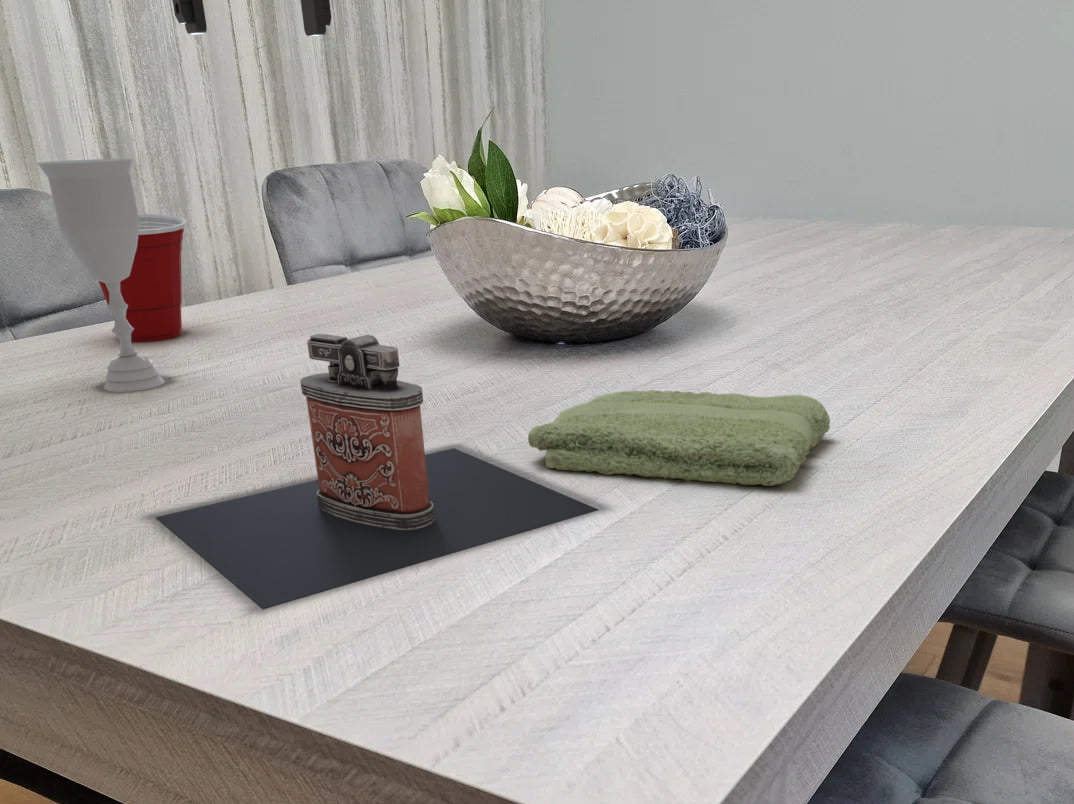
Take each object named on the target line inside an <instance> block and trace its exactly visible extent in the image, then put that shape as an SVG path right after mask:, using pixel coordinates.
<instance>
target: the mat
mask: <svg viewBox="0 0 1074 804" xmlns="http://www.w3.org/2000/svg"><path fill="white" fill-rule="evenodd" d="M425 461H426V471H427V481H428V492H429V501H430V502H432V503H433V508H434V519H435V520H434V521H433V523H431V524H430V525H428V526H425V527H422V528H418V529H413V530H398V529H391V528H384V527H377V526H372V525H367V524H363V523H358V522H353V521H350V520H347V519H344V518H341V517H337V516H335V515H332V514H330V513H328V512H325V511H323V510H321V509H320V508H319V505H318V499H317V491H318V490H319V482H318V479H315V480H310V481H306V482H302V483H298V484H292V485H289V486H285V487H280V488H276V489H271V490H267V491H262V492H259V493H258V492H257V493H253V494H250V495H245V496H241V497H237V498H232V499H228V500H224V501H219V502H215V503H211V504H206V505H202V506H197V507H193V508H189V509H184V510H180V511H176V512H172V513H171V512H170V513H167V514H163V515H157V516H155V519H156V520H157V521H159V523H161V524H162V525H163V526H164V527H165V528H167V529H168V530H169V531H170V532H171V533H173V534H174V535H175V536H176V537H177V538H179V539H180V541H182V542H183V543H184V544H185V545H187V546H188V547H189V548H190V549H191V550H192V551H193V552H195V553H196V554H197V555H198V556H200V558H202V559H203V560H204V561H205V562H206V563H207V564H209V565H210V566H211V567H212V568H213V569H214V570H216V571H217V572H218V573H219V574H221V576H222V577H224V578H225V579H226V580H228V581H229V582H230V583H231V584H232V585H233V586H235V588H236V589H237V590H239V591H240V592H241V593H242V594H244V595H245V596H246V597H248V599H250V601H252V602H253V603H254V604H255V605H257V606H258V607H259V608H260V609H262V610H266V609H269V608H273V607H277V606H279V605H283V604H286V603H290V602H294V601H296V600H299V599H304V598H307V597H311V596H313V595H316V594H317V595H318V594H320V593H324V592H327V591H331V590H334V589H337V588H340V587H344V586H347V585H350V584H353V583H358V582H360V581H364V580H367V579H370V578H374V577H378V576H382V575H384V574H388V573H391V572H395V571H398V570H401V569H405V568H408V567H411V566H414V565H419V564H422V563H425V562H428V561H431V560H435V559H438V558H442V557H445V556H448V555H452V554H456V553H459V552H462V551H466V550H468V549H469V550H470V549H472V548H475V547H479V546H482V545H485V544H489V543H493V542H496V541H500V540H503V539H506V538H509V537H514V536H516V535H520V534H523V533H526V532H529V531H533V530H536V529H540V528H543V527H547V526H549V525H553V524H558V523H560V522H563V521H567V520H570V519H573V518H577V517H580V516H583V515H587V514H590V513H594V512H597V511H599V510H600V509H599V508H596V507H594V506H592V505H589V504H587V503H585V502H582V501H580V500H577V499H575V498H573V497H570V496H568V495H565V494H563V493H561V492H558V491H557V490H554V489H552V488H549V487H547V486H544V485H542V484H539V483H537V482H536V481H533V480H530V479H528V478H525V477H523V476H520V475H518V474H516V473H514V472H512V471H509V470H507V469H504V468H502V467H500V466H497V465H496V464H492V463H491V462H487V461H486V460H483V459H481V458H478V457H476V456H473V455H471V454H469V453H467V452H464V451H462V450H460V449H457V448H455V447H453V448H449V449H448V448H447V449H444V450H440V451H435V452H431V453H425Z"/></svg>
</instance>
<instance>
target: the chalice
mask: <svg viewBox="0 0 1074 804" xmlns="http://www.w3.org/2000/svg"><path fill="white" fill-rule="evenodd" d="M134 160H135V159H134V158H100V159H73V160H72V159H71V160H55V161H42V162H37V165H38V167H40V169H41V170H42V171H43V173H44V174H45V176H46V177H47V180H48V184H49V188H50V192H51V197H52V200H53V205H54V209H55V215H56V219H57V223H58V227H59V230H60V231H61V233H62V235H63V237H64V239H65V241H66V242H67V244H68V246H69V248H70V249H71V250H72V252H73V253H74V255H75V256H76V258H77V259H78V261H79V262H80V263H81V265H82V266H83V267H84V268H85V270H86V271H87V273H88V274H89V275H90V276H91V278H92V279H93V280H95V281H97V282H99V281H100V282H104V283H105V284H106V287H107V289H108V291H109V306H108V305H107V309H108V310H109V311H110V312H111V314H112V317H113V316H114V317H113V319H114V318H115V320H114V326H113V327H112V329H111V332H112V333H114V334H115V335H116V337H117V340H118V342H119V346H120V347H119V348H120V349H119V353H118V354H117V356H118V357H117V358H116V359H113V360H111V361H110V362H109V365H108V366H107V370H108V371H107V373H106V375H105V380H106V382H105V384H104V386H103V388H104V390H106V391H108V392H114V393H115V392H117V393H121V392H122V393H123V392H124V393H125V392H136V391H137V392H138V391H143V390H150V389H153V388H157V387H159V386H162V385H163V384H164V383H165V380H164V378H162V376H161V375H160V371H159V370H158V369H157V368H156V367H155V366H154V362H153V361H152V360H151V359H149V358H148V357H146V356H141V355H139V352H138V351H136V350H135V348H134V346H133V342H131V332H132V331H133V330H134V328H133V327H132V326H130V325H129V323H128V321H127V319H126V310H127V308H128V305H127V304H126V303H125V302H124V300H123V297H122V295H121V292H120V281H122V280H124V279H126V278H127V277H129V276H130V272H131V268H132V264H133V260H134V257H135V253H136V249H137V243H138V234H139V226H140V222H139V217H138V214H139V212H138V208H137V203H136V198H135V197H136V196H135V193H134V189H133V184H132V177H131V172H132V169H133V164H134Z"/></svg>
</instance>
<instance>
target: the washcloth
mask: <svg viewBox="0 0 1074 804" xmlns="http://www.w3.org/2000/svg"><path fill="white" fill-rule="evenodd" d="M829 415H830V414H829V413H828V411H827V409H826V408H825V406H824V405H823V404H822V403H821V402H820V401H819V400H818V399H816V398H813V397H811V396H809V395H803V394H785V395H784V394H783V395H773V396H755V395H747V394H746V395H745V394H740V393H735V392H734V393H733V392H732V393H720V394H719V393H715V392H714V393H711V392H709V391H701V392H699V393H696V392H693V391H684V392H683V391H680V390H675V391H672V390H663V391H661V390H655V389H650V390H646V391H645V390H622V391H615V392H609V393H604V394H601V395H599V396H596V397H594V398H593V399H591V400H588V401H587V402H584V403H580V404H576V405H573V406H572V407H568V408H566V409H564V410H561V412H559V414H558V415H557V417H556V418H555V419H554V420H553V421H552V422H548V423H543V424H542V425H536V426H533V427H532V428H531V429H530V430H529V431H528V434H527V435H528V436H527V441H528V442H527V443H528V445H529V446H530V447H531V448H535V449H537V450H538V451H539V452H542V451H545V457H544V458H545V459H544V460H545V466H546V467H547V468H549V469H556V470H557V471H559V470H560V471H572V472H584V471H585V472H588V473H590V472H597V473H599V474H603V475H627V476H631V475H635V476H639V477H643V478H660V479H661V478H663V479H665V480H666V479H678V480H684V481H686V482H689V481H699V482H712V483H724V484H731V485H737V484H739V485H743V486H755V485H762V486H766V487H771V486H776V485H781V484H786V483H787V482H789V481H792V480H793V478H795V475H796V474H797V472H798V471H799V469H800V466H801V465H803V463H804V462H805V461H806V459H807V456H808V455H809V454H810V450H812V449H813V448H814V447H816V445H817V444H819V441H820V439H823V438H824V436H825V435H826V433H828V432H829V431H830V428H831V427H830V424H831V418H830V416H829Z"/></svg>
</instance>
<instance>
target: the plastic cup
mask: <svg viewBox="0 0 1074 804" xmlns="http://www.w3.org/2000/svg"><path fill="white" fill-rule="evenodd" d="M138 217H139V222H140V226H139V234H138V243H137V249H136V253H135V257H134V260H133V264H132V268H131V272H130V276H129V277H127V278H126V279H124V280H122V281H120V292H121V295H122V297H123V300H124V302H125V303H126V304H127V305H128V308H127V310H126V319H127V321H128V323H129V325H130V326H132V327H133V328H134V330H133V331H132V332H131V343H147V342H148V343H149V342H151V343H152V342H159V341H166V340H170V339H175V338H177V337H180V336H181V335H182V328H183V324H182V322H183V321H182V303H183V287H182V286H183V285H182V284H183V283H182V281H183V280H182V278H183V277H182V250H183V239H184V231H185V228H186V227H187V225H188V219H185V218H183V217H182V216H175V215H171V214H161V213H160V214H159V213H158V214H157V213H138ZM98 283H99V286H100V289H101V292H102V294H103V296H104V300H105V302H106V305H107V307H108V306H109V291H108V289H107V287H106V284H105V283H104V282H100V281H98ZM112 317H113V319H114V321H115V318H114V316H113V315H112Z"/></svg>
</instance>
